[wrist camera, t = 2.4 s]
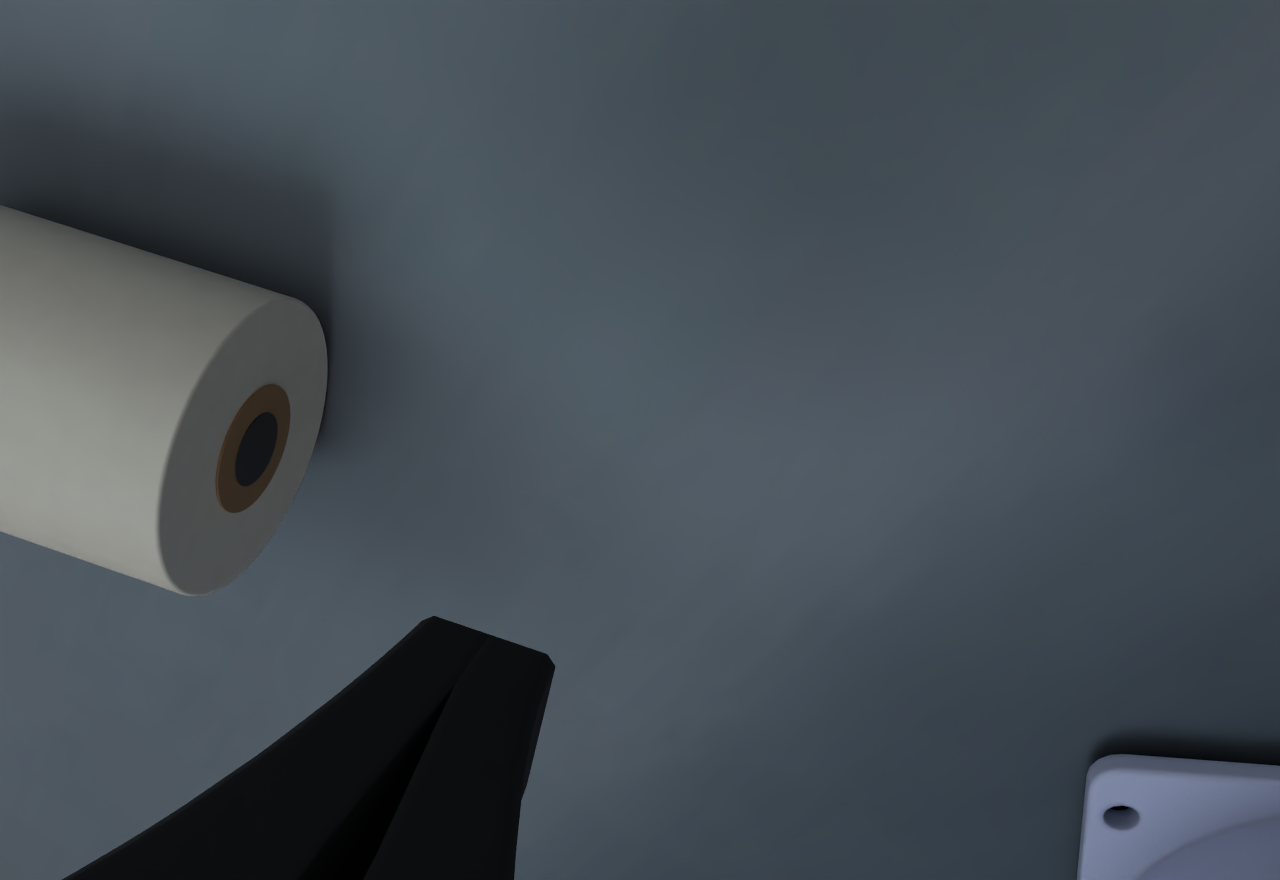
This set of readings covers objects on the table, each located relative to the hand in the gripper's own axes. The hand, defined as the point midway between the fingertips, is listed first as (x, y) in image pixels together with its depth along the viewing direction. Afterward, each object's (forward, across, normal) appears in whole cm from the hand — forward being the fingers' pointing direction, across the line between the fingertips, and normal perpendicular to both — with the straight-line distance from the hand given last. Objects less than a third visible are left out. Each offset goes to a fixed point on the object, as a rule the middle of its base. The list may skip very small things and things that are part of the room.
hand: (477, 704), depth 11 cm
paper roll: (+6, +8, 0) cm, 10 cm away
